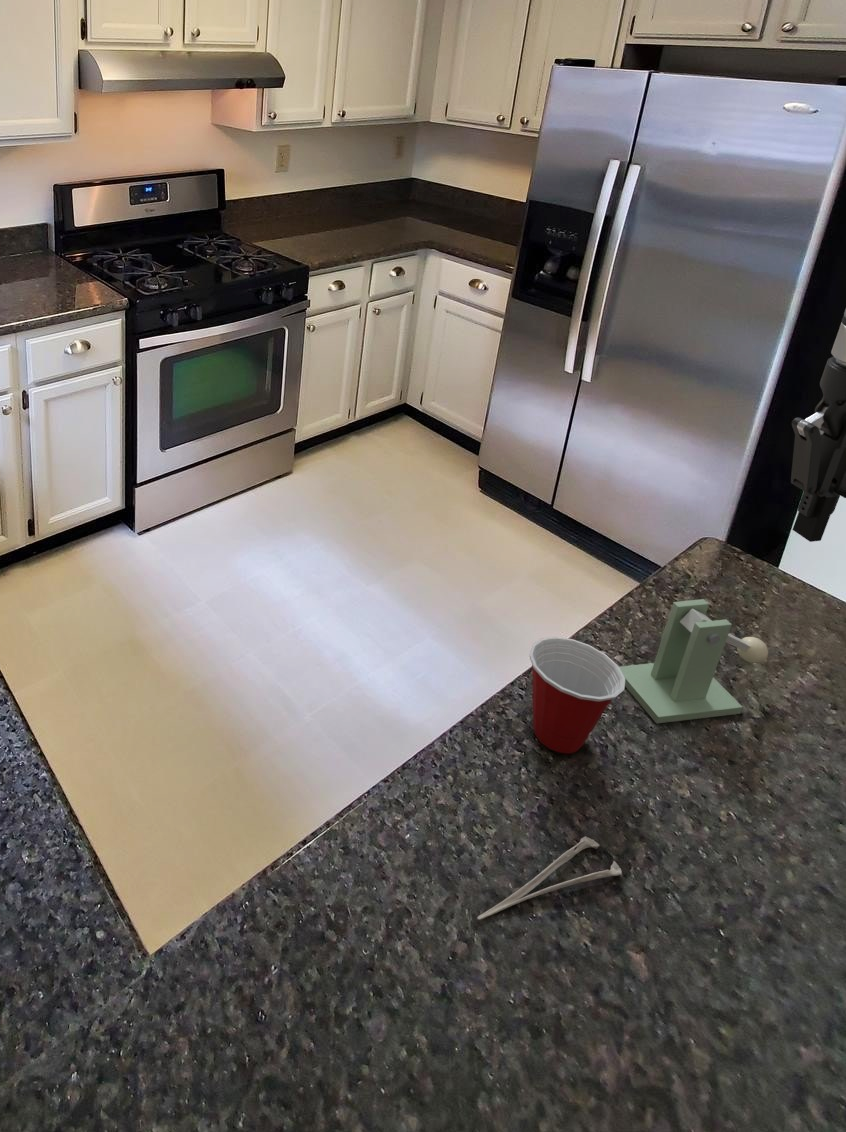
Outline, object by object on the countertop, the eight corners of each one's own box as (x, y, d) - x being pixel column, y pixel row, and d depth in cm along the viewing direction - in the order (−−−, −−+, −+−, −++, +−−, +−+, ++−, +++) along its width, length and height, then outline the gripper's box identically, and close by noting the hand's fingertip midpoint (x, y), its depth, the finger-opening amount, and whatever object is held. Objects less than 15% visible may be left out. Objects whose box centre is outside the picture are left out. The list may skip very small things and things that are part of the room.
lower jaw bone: (588, 839, 89) (591, 828, 88) (623, 878, 85) (627, 866, 84) (460, 905, 84) (462, 894, 83) (492, 949, 80) (494, 938, 79)
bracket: (692, 664, 113) (719, 586, 107) (740, 713, 105) (772, 632, 99) (613, 673, 111) (636, 594, 106) (656, 723, 103) (683, 641, 98)
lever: (741, 653, 109) (759, 636, 108) (761, 671, 106) (779, 653, 105) (673, 621, 105) (691, 602, 104) (691, 639, 102) (710, 619, 100)
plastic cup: (625, 751, 100) (647, 678, 94) (563, 783, 95) (583, 710, 90) (554, 692, 108) (572, 623, 103) (495, 719, 104) (510, 649, 99)
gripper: (889, 347, 95) (826, 514, 105) (791, 355, 93) (737, 523, 103) (952, 371, 88) (879, 547, 98) (847, 380, 87) (784, 557, 97)
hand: (806, 534), depth 101 cm, fingers closed
